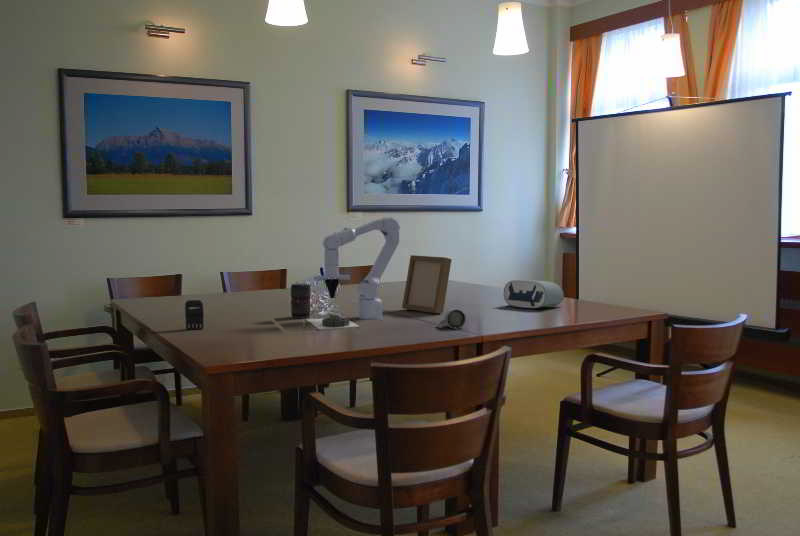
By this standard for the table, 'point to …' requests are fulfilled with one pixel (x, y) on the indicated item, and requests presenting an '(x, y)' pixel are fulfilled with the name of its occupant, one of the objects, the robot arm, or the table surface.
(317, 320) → the board
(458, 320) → the ceramic mug
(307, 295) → the camera lens
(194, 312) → the black battery charger
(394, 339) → the table surface
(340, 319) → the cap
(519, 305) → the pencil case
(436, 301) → the photo frame
